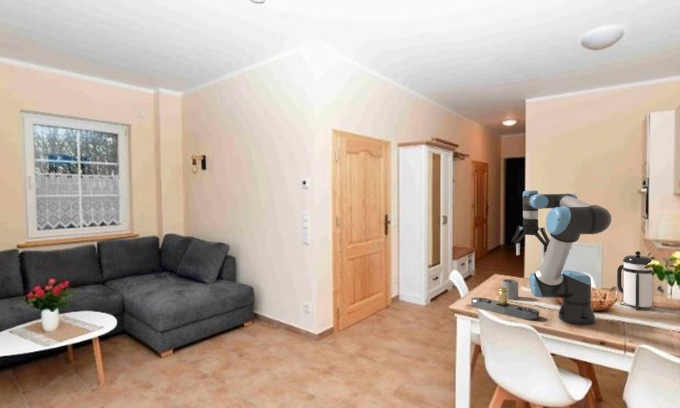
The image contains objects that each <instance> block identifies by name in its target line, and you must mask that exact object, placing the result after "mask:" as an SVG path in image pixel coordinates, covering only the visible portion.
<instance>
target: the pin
mask: <svg viewBox="0 0 680 408" xmlns="http://www.w3.org/2000/svg"><path fill="white" fill-rule="evenodd" d="M507 291H508V289H507V288H503V287H498V301H499V306H503V307H507V303H508V299H507Z"/></svg>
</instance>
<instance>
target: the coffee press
mask: <svg viewBox="0 0 680 408" xmlns="http://www.w3.org/2000/svg"><path fill="white" fill-rule="evenodd" d="M634 253H635V254H631V255H630V254H628V255H626V256H624V258H623V259H622V263H623V264H620V265H619V266H618V268H617V271H616V272H617V273H616V275H617V276H616V277H617V278H616V286H617V289H618V290H619V292H620V293H622V300H620V302H619V305H621V306H623V305H625V304H626V305H629V306H632V307H635V311H638V310H640V308H651V309H652V310H653V309H657V307H656V305H655V304H654V303H653V300H654V274H653V275H651V274H652V269H651V268H648V269H646V268H644V267H645V266H646V265H647V264H648V263H650V262H651V261H653V259H652V258H650V257H648V256H646V255H641V252H640V251H638V250H637V251H635V252H634ZM622 273H623V281H622ZM622 302H624V303H622ZM652 306H653V307H652Z"/></svg>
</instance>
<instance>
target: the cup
mask: <svg viewBox="0 0 680 408" xmlns="http://www.w3.org/2000/svg"><path fill="white" fill-rule="evenodd" d="M502 288H507V289H508V291H507V300H510V301H511V300H512V301H516V299H517V300H519V280H516V279H509V278H507V279H503V280H502Z"/></svg>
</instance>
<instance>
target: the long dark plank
mask: <svg viewBox="0 0 680 408" xmlns="http://www.w3.org/2000/svg"><path fill="white" fill-rule="evenodd" d="M470 299H471V302H470V303H471V304H470V305H472V306H473V307H472V306H471V307H472V308H475V307H476V308H475V309H479V308H480V309H481V310H484V311H487V312H488V311H489V312H493V313H496V314H501V315H504V316H509V317H513V318H517V319H521V320H525V321H531V322H532V321H535V322H536V321H539V320H540V310H538V309H535V308H532V307H527V306H523V305H520V304H519V305H518V304H513V303H509V302H507V307H503V306H499V300H497V299H496V300H495V299H491V298H486V297H480V296H479V297H477V296H476V297H472V298H470Z"/></svg>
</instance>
